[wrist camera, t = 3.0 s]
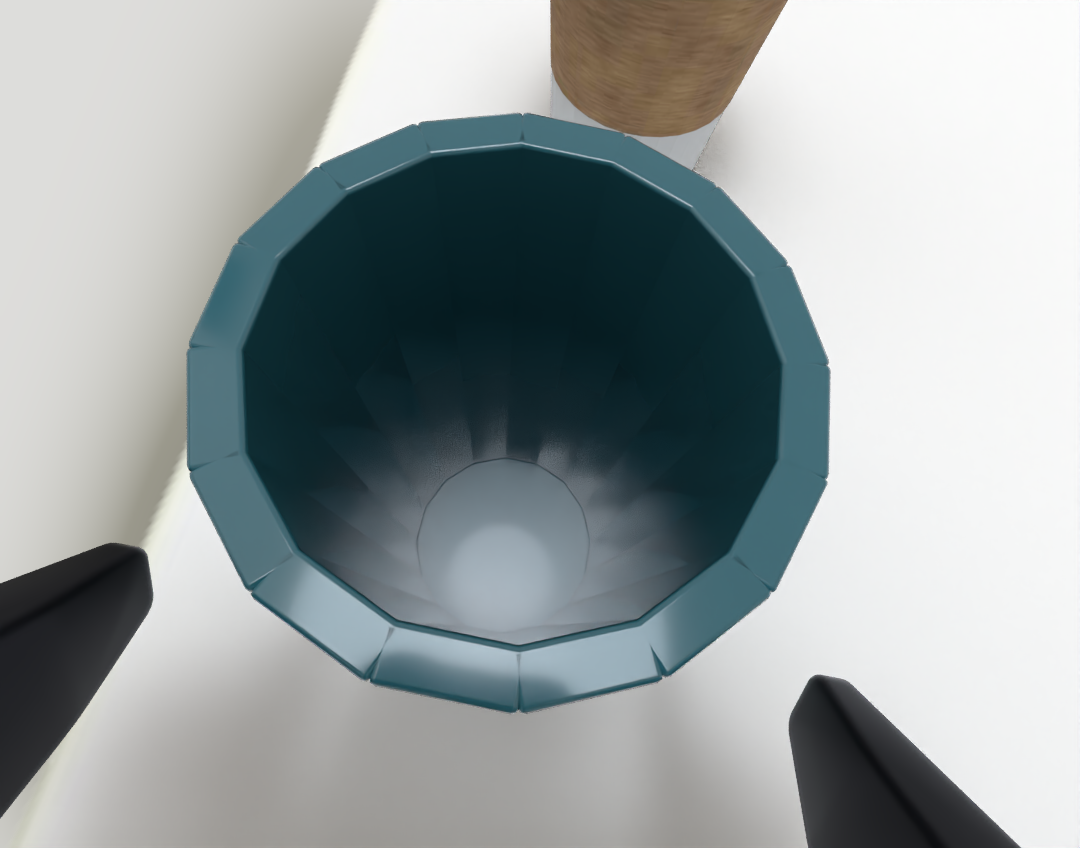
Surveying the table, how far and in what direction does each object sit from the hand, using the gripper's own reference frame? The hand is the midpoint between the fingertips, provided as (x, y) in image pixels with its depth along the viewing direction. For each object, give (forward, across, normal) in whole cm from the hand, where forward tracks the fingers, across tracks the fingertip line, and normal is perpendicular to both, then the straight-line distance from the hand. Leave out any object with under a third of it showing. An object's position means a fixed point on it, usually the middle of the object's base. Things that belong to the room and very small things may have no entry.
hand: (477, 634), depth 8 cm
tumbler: (+9, 0, +5) cm, 10 cm away
